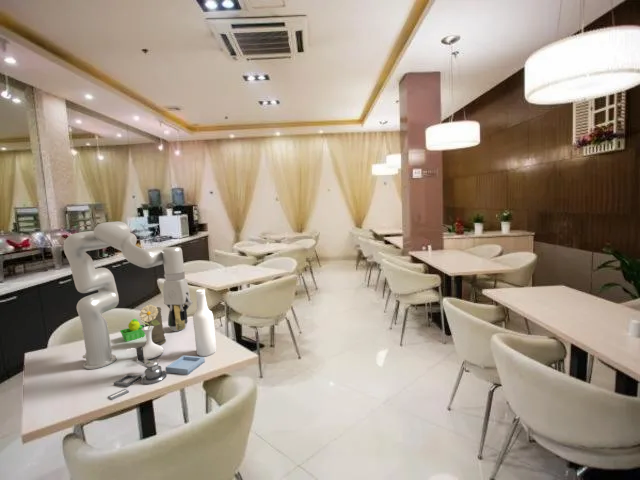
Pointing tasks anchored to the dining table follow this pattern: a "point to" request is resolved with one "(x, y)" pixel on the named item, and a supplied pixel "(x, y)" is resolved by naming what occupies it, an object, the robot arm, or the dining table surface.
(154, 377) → the crank housing
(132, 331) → the fruit basket
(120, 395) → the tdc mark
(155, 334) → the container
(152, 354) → the flower in vase
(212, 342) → the alcohol
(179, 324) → the peg
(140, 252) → the robot arm
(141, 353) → the crank
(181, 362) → the tray
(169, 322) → the black egg shape
